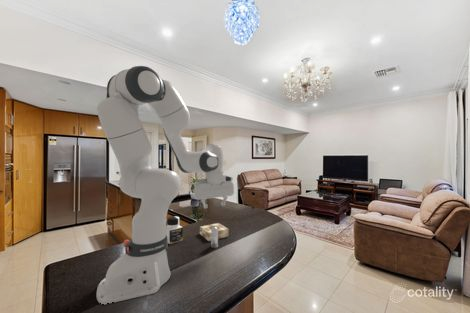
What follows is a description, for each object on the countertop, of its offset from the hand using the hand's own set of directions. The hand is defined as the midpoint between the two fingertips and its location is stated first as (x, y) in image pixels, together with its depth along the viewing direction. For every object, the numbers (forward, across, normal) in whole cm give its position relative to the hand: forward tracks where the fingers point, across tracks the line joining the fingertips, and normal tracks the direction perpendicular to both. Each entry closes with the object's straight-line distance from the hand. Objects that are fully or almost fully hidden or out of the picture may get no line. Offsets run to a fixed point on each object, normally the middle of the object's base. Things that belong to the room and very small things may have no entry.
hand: (214, 206), depth 96 cm
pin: (+19, 0, 0) cm, 19 cm away
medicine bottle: (+19, -15, +18) cm, 30 cm away
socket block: (+19, +6, +13) cm, 24 cm away
